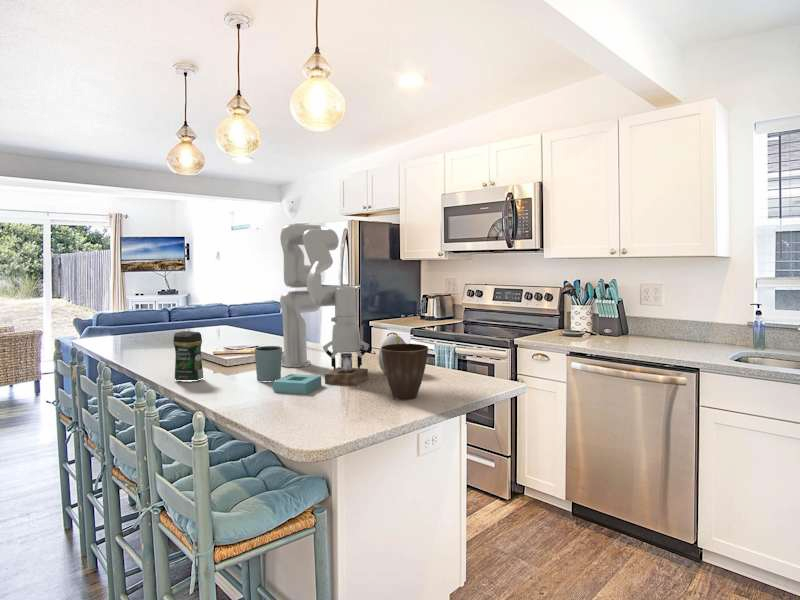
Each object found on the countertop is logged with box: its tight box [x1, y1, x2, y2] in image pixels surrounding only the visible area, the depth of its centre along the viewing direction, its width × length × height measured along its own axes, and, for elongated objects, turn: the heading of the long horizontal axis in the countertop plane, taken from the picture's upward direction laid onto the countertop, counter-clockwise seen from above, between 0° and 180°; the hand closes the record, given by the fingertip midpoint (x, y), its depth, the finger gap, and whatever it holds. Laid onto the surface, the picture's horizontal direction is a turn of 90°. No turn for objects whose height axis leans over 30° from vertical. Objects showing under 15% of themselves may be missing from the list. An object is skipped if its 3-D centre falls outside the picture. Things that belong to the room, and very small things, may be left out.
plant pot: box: [380, 343, 429, 401], centre depth 160 cm, size 15×15×16 cm
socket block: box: [272, 373, 322, 395], centre depth 173 cm, size 12×12×4 cm
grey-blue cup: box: [254, 345, 283, 382], centre depth 187 cm, size 10×10×12 cm
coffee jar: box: [172, 330, 204, 380], centre depth 187 cm, size 10×8×19 cm
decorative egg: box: [378, 334, 407, 375], centre depth 196 cm, size 12×12×15 cm
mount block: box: [324, 366, 369, 386], centre depth 184 cm, size 12×12×4 cm
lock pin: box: [340, 352, 353, 373], centre depth 184 cm, size 4×4×10 cm
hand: (346, 367), depth 184 cm, fingers open, 8 cm apart
